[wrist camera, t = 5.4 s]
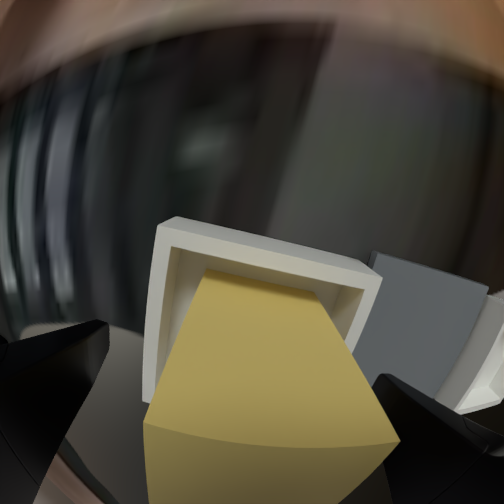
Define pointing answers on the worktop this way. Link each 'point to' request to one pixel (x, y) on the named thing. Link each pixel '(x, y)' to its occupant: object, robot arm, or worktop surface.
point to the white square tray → (478, 364)
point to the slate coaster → (416, 323)
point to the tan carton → (260, 403)
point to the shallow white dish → (246, 265)
